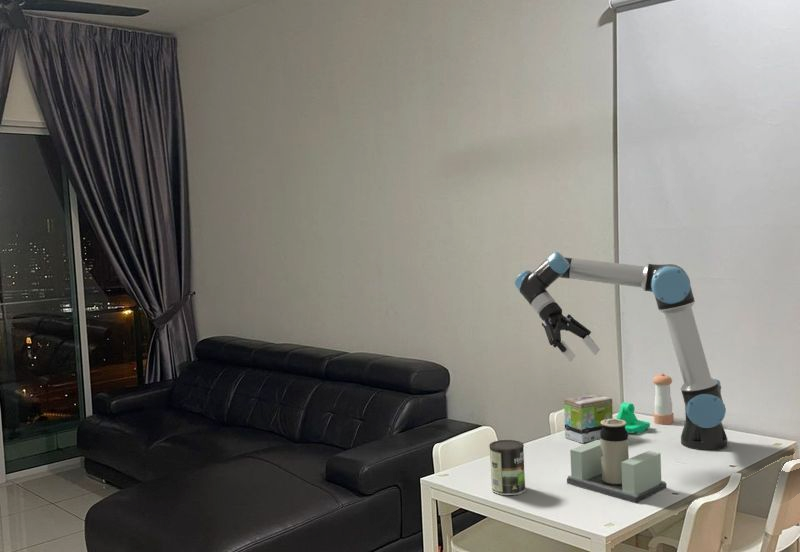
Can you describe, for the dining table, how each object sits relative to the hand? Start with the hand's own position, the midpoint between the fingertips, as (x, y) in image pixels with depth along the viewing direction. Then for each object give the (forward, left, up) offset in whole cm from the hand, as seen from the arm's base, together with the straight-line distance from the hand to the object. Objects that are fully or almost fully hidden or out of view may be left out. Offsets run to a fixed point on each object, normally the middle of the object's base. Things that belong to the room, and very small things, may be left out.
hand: (585, 355), depth 244 cm
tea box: (-9, -25, -36) cm, 45 cm away
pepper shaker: (-43, -37, -36) cm, 67 cm away
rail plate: (0, +25, -35) cm, 43 cm away
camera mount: (-27, -30, -36) cm, 54 cm away
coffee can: (+32, +21, -36) cm, 52 cm away
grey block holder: (0, +25, -34) cm, 42 cm away
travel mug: (0, +24, -34) cm, 42 cm away
